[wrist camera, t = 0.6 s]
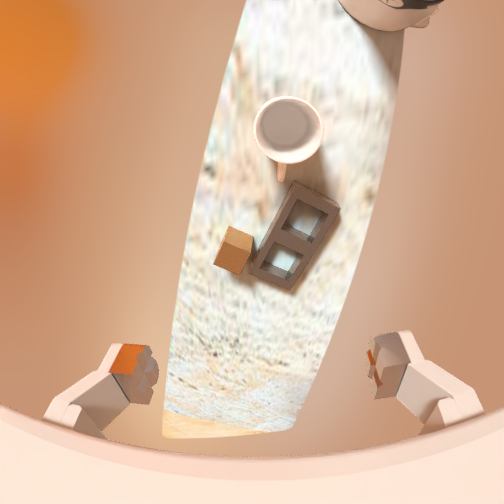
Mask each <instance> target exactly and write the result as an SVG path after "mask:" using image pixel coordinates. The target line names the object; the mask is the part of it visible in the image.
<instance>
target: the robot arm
mask: <svg viewBox="0 0 504 504" xmlns="http://www.w3.org/2000/svg"><path fill="white" fill-rule="evenodd" d="M339 1H340V3H341V4H342V6H343V7H344V8H345V10H346V11H347V12H348V13H349V14H350V15H352V16H353V17H354V18H355V19H357V20H358V21H360V22H361V23H363V24H365V25H367V26H369V27H372V28H374V29H378V30H383V31H398V30H402V29H404V28H407V27H416V28H424V27H426V26H427V25H428V23H429V18H430V16H432V15H433V14H435V13H436V12H437V11H438V8H437V6H438V4H440V3H441V2H443V1H444V0H339ZM369 347H370V350H369V351H368V352H367V354H366V371H367V374H368V377H370V378H371V379H372V382H371V389H372V393H373V397H374V399H380V398H388V397H394V396H396V398H397V399H398V400H399V401H400V402H401V403H402V404H404V406H405V407H406V408H407V409H408V410H410V411H411V412H412V413H413V414H414V415H415V416H416V417H417V418H418V419H419V420H420V421H421V422H422V423H423V424H424V427H423V428H422V430H421V432H420V433H419V435H418V436H417V437H413V438H409V439H405V440H401V441H397V442H392V443H387V444H383V445H377V446H372V447H367V448H360V449H354V450H347V451H340V452H331V453H323V454H310V455H297V456H275V457H238V456H215V455H201V454H189V453H181V452H173V451H165V450H158V449H151V448H146V447H140V446H135V445H130V444H124V443H120V442H115V441H111V440H108V438H107V437H106V436H105V435H104V434H103V433H102V432H101V431H102V430H103V429H104V428H106V427H107V426H108V425H109V424H110V423H111V422H112V421H113V420H114V419H115V418H116V417H117V416H118V415H119V414H120V413H121V412H122V411H123V410H124V409H125V408H126V407H127V406H128V405H129V404H130V403H137V404H147V405H148V404H149V403H150V400H151V397H152V394H153V390H152V388H151V387H152V386H153V385H155V384H156V383H157V380H158V375H159V369H158V364H157V362H156V360H155V359H153V358H152V357H151V354H152V351H151V349H150V347H149V346H147V345H137V344H122V343H121V344H120V343H114V344H112V345H111V347H110V348H109V351H108V353H107V354H106V356H105V358H104V360H103V361H102V363H101V365H100V367H99V369H98V371H93V372H92V373H90V374H89V375H87V376H86V377H84V378H83V379H81V380H80V381H78V382H77V383H76V384H74V385H73V386H71V387H70V388H68V389H67V390H65V391H64V392H62V393H61V394H59V395H58V396H56V397H55V398H54V399H53V400H52V402H51V404H50V406H49V408H48V409H47V412H46V413H45V415H44V417H43V419H42V420H40V419H37V418H35V417H32V416H29V415H27V414H24V413H22V412H19V411H17V410H15V409H12V408H10V407H8V406H6V405H3V404H1V403H0V504H504V407H501V408H499V409H497V410H494V411H492V412H490V413H487V414H485V413H484V411H483V408H482V406H481V404H480V402H479V400H478V397H477V395H476V394H475V391H474V389H473V388H471V387H470V386H468V385H466V384H465V383H463V382H462V381H460V380H459V379H457V378H456V377H454V376H453V375H451V374H449V373H448V372H446V371H445V370H443V369H442V368H440V367H439V366H437V365H436V364H434V363H432V362H431V361H429V360H424V357H423V355H422V353H421V351H420V349H419V347H418V345H417V343H416V341H415V339H414V337H413V335H412V333H411V331H410V330H405V331H399V332H393V333H387V334H380V335H374V336H371V337H370V339H369Z"/></svg>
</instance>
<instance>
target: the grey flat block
mask: <svg viewBox="0 0 504 504" xmlns="http://www.w3.org/2000/svg"><path fill="white" fill-rule="evenodd" d="M297 199H299V200H301V201H303V202H305V203H307V204H309V205H311V206H313V207H315V208H317V209H319V210H321V211H323V214H322V215H321V217H320V219H319V220H318V222H317V224H316V226H315V227H314V229H313V231H312V232H311V234H310V236H309V235H307V234H305V233H303V232H301V231H299V230H297V229H295V228H292V227H290V226H288V225H286V224H284V222H285V221H286V219H287V217H288V215H289V213H290V211H291V210H292V208H293V206H294V204H295V202H296V200H297ZM339 211H340V207H339V205H338V204H337V202H335V201H333V200H331V199H329V198H327V197H325V196H323V195H321V194H319V193H317V192H315V191H314V190H312V189H310V188H308V187H306V186H303V185H301V184H299V183H297V182H295V181H294V182H293V184H292V186H291V188H290V189H289V191H288V193H287V195H286V197H285V199H284V201H283V203H282V205H281V206H280V208H279V210H278V212H277V214H276V216H275V218H274V220H273V222H272V223H271V225H270V227H269V229H268V231H267V233H266V235H265V237H264V239H263V240H262V242H261V244H260V246H259V248H258V250H257V252H256V254H255V256H254V257H253V259H252V261H251V263H250V267H249V274H251V275H254V276H256V277H259V278H261V279H263V280H266V281H268V282H271V283H273V284H275V285H278V286H280V287H283V288H285V289H288V290H291V288H292V287H293V285H294V284H295V282H296V280H297V279H298V277H299V276H300V274H301V273H302V271H303V269H304V268H305V266H306V265H307V263H308V262H309V260H310V258H311V257H312V255H313V253H314V252H315V250H316V249H317V247H318V245H319V244H320V242H321V241H322V239H323V237H324V236H325V234H326V232H327V231H328V229H329V227H330V226H331V224H332V222H333V221H334V219H335V217H336V216H337V214H338V212H339ZM273 242H276V243H279V244H281V245H283V246H285V247H287V248H290V249H292V250H294V251H296V252H299V254H298V256H297V258H296V259H295V261H294V262H293V264H292V266H291V267H290V269H289V271H285V270H283V269H281V268H278V267H276V266H274V265H271V264H269V263H267V262H264V259H265V257H266V255H267V253H268V252H269V250H270V248H271V246H272V244H273Z"/></svg>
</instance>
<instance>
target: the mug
mask: <svg viewBox="0 0 504 504" xmlns="http://www.w3.org/2000/svg"><path fill="white" fill-rule="evenodd" d="M253 131H254V138H255V141H256V143H257V145H258V147H259V148H260V150H261V151H262V152H263V153H264V154H265V155H266V156H267V157H269V158H270V159H272V160H274V161H276V162H278V171H277V181H278V182H283V181H284V178H285V173H286V167H287V164H294V163H299V162H302V161H304V160H306V159H308V158H309V157H311V156H312V155H313V154H314V153H315V152H316V151H317V149H318V148H319V146H320V144H321V142H322V139H323V123H322V120H321V117H320V115H319V113H318V112H317V111H316V109H315V108H314V107H313V106H312V105H311V104H309V103H308V102H306V101H304V100H302V99H300V98H296V97H290V96H286V97H277V98H273V99H271V100H269V101H268V102H266V103H265V104H264V105H263V106H262V107H261V109H260V110H259V112H258V114H257V116H256V118H255V121H254V128H253Z"/></svg>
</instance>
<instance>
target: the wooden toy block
mask: <svg viewBox="0 0 504 504" xmlns="http://www.w3.org/2000/svg"><path fill="white" fill-rule="evenodd" d="M252 241H253V236H251V235H249V234H246V233H244V232H242V231H239V230H237V229H235V228H233V227H230V226H229V227H228V229H227V231H226V233H225V235H224V238H223V240H222V242H221V244H220V246H219V249H218V252H217V255H216V258H215V261H214V265H216V266H219V267H221V268H223V269H226V270H228V271H230V272H233V273H235V274H238V275H240V273H241V271H242V269H243V267H244V265H245V263H246V261H247V259H248V257H249V256H250V254H251V248H252Z"/></svg>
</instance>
